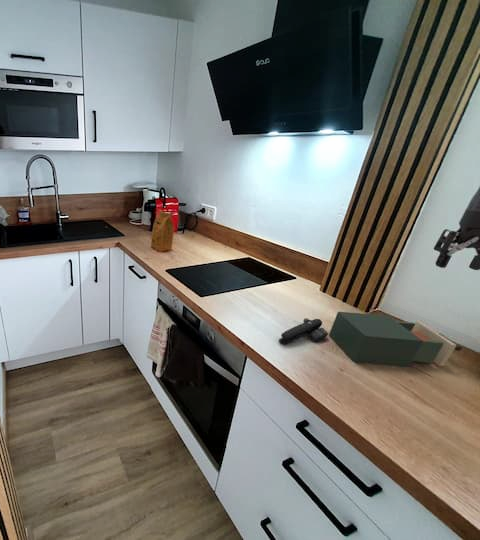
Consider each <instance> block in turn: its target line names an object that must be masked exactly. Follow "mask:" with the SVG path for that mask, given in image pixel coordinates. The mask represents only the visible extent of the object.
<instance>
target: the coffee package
mask: <svg viewBox="0 0 480 540" xmlns="http://www.w3.org/2000/svg"><path fill="white" fill-rule="evenodd" d="M172 216H173V214H172V212H166V211H165V212H164V211H162V209H159V210H158V212H157V214H156V217H155V219H154V222H153V226H152V230H151V242H150V247H151V248H153V249H154V250H155V251H157V252H160V253H162V252H166V251H170V250H173V249H172V248H173V240H174V234H175V233H174V232H175V224H174V221H173V219H172Z"/></svg>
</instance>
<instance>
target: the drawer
mask: <svg viewBox="0 0 480 540" xmlns="http://www.w3.org/2000/svg"><path fill="white" fill-rule="evenodd" d="M395 321H396V322H398V323H399V324H401V325H402V326H403V327H405V328H406V329H408V330H409V331H417V332H419V333H420V334H422V335H423V336H425V337H426V338H428V339H429V340H431V341H429V340H423V342H422V344H421V346H420V348H419V350H418V351H417V353H416V355H415V357H414V359H413V360H412V362H419V363H431V364H432V363H435V364H436V365H437V366H439V367H444V366H445V365H446V364H447V362H448V360H449V358H450V357H451V355H452V354H453V352H454V351H457V352H458V351H462V350H463V347H462V346H460V345H459V344H458V343H456V342H454V341H453V340H452V339H450V338H449V337H447V336H445V335H444V334H442V333H441V332H438V331H436V330H435V329H433V328H431V327H430V326H428V325H426V324H425V323H424V322H422V321H419V320H417V321H415V322H413V321H412V322H410V321H398V320H395Z"/></svg>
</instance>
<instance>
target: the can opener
mask: <svg viewBox="0 0 480 540" xmlns="http://www.w3.org/2000/svg"><path fill="white" fill-rule="evenodd" d="M322 325H323V321H322V320H321V319H320V318H314V319H309V318H307V317H305V318H304V319H303V321H302V323H300V324H298V325H296V326H293V327H292V328H291V327H290V328H288V329H287V330H285V331H284V332H282V333H281V335H280V338H279V339H278V342H279V344H281V345H288V344H291V343H293V342H295V341H298V340H299V339H301V338H303V337H305V336H307V338H308V339H310V340H311V341H313V342H319V341H322V340H324V339H325V338H327V337H328V336H329V332H328V331H327V330H326V329H325V328H324V327H322Z"/></svg>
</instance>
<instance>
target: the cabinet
mask: <svg viewBox="0 0 480 540" xmlns="http://www.w3.org/2000/svg"><path fill="white" fill-rule="evenodd" d="M396 321H397V320H395V319H394V318H392V317H391V316H389V315H388V314H387V315H386V314H374V313H361V312H349V311H347V312H346V311H337V312H336V315H335V318H334V320H333V323H332V326H331V328H330V330H329V333H328V336H329V338H330V339H331V340H332V341H333V342H334V343H335V344H336V345H337V346H338V347H339V349H341V351H342V352H343V353H344V354H345V355H346V356H347V357H348V358H349V359H350V361H352V362H353V363H360V364H368V365H369V364H370V365H380V366H392V367H405V368H410V366H411V364H412V362H413V361H412V360H413V359H414V357H415V355H416V353H417V351H418V350H419V348H420V346H421V344H422V342H423V340H422V339H420V338H419V337H417V336H416V335H415V334H413V333H412V332H410V331H409V330H408V329H406V328H405V327H403V326H402V325H401V324H399V323H398V322H396Z"/></svg>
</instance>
